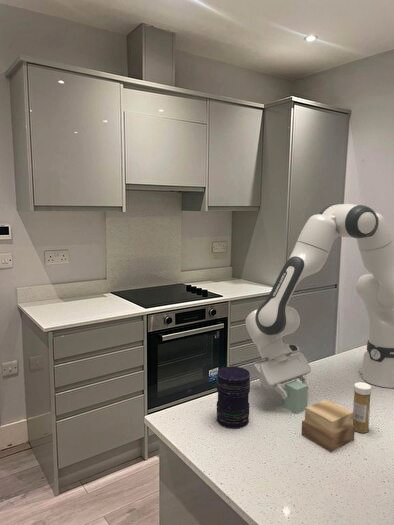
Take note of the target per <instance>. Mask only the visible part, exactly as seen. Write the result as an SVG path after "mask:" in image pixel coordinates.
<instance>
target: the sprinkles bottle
mask: <svg viewBox="0 0 394 525" xmlns="http://www.w3.org/2000/svg"><path fill="white" fill-rule="evenodd" d="M353 391H354V396H353V406H352V408H353V409H352V412H353V425H354V426H355V432H357V433H363V434H366V433H368V432H369V429H370V428H369V423H370V412H371V411H370V408H371V395H372V386H371V385H370V383H366V382H359V381H358V382H356V383H354V386H353Z"/></svg>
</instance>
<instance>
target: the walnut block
mask: <svg viewBox="0 0 394 525" xmlns="http://www.w3.org/2000/svg"><path fill="white" fill-rule="evenodd" d="M355 432H356V431H355V426H354V425H353V426H351V427H349V428H347V429H345V430H343V431H341V432H339V433H337V434H335V435H333V436H330V435H329V434H327V433H325V432H323V431H322V430H320V429H318V428H316V427H315V426H313V425H311V424H309V423H308V422H306V421H305V419H303V420H302V421H301V436H303V437H304V438H306V439H308V440H310V441H312V442H313V443H314V444H316V445H318V446H320V447H322V448H323V449H325V450H326V451H328V452H330V453H332V452H335V451H337V450H338V449H339V448H342V447H344V446H346V445H347V444H349V443H351V442H353V441H355Z"/></svg>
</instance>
